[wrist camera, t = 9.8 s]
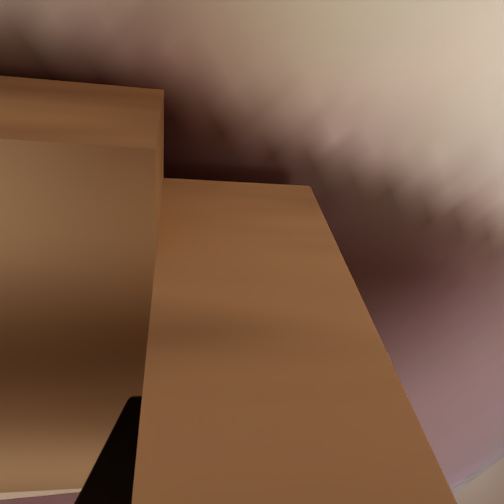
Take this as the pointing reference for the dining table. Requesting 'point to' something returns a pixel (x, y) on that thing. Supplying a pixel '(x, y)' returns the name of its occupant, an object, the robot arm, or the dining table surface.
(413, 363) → the dining table surface
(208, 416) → the stepped wooden corner piece
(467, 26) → the dining table surface
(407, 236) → the dining table surface
